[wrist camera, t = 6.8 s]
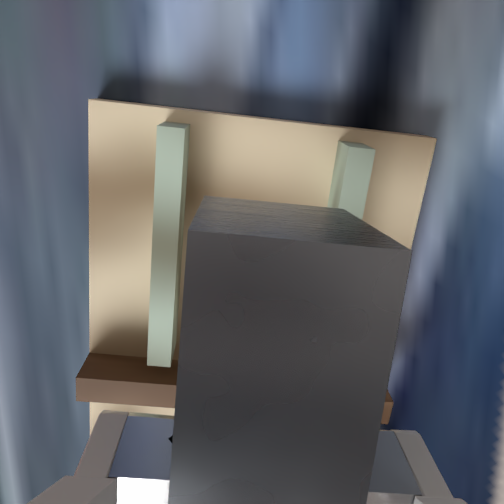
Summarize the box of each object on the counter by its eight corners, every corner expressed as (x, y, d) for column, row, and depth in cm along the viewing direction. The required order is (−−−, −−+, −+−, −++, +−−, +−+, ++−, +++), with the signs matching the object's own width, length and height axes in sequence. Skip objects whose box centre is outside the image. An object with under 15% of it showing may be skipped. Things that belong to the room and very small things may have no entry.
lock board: (333, 543, 28) (346, 607, 25) (96, 529, 28) (76, 594, 24) (426, 135, 21) (464, 146, 17) (97, 98, 20) (66, 101, 16)
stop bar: (204, 195, 10) (188, 229, 6) (344, 208, 10) (412, 251, 6) (174, 580, 12) (147, 784, 8) (288, 585, 12) (314, 787, 9)
